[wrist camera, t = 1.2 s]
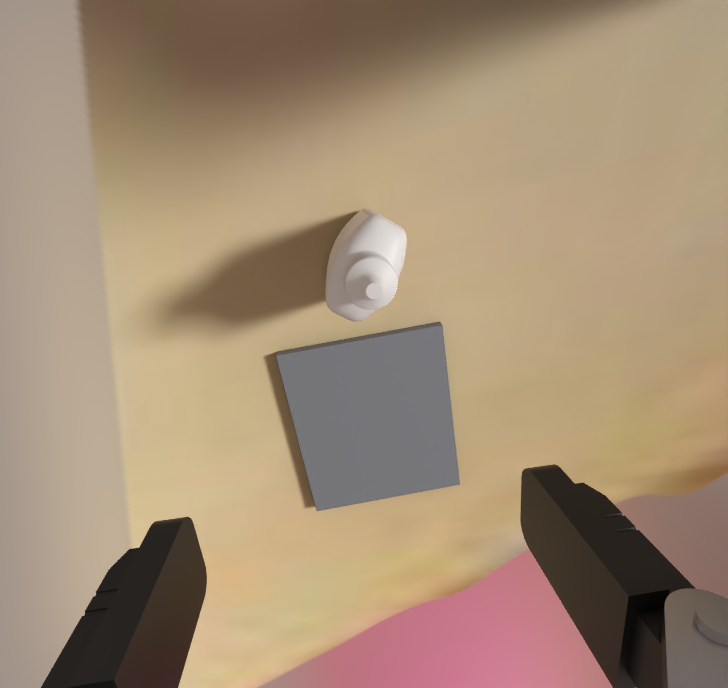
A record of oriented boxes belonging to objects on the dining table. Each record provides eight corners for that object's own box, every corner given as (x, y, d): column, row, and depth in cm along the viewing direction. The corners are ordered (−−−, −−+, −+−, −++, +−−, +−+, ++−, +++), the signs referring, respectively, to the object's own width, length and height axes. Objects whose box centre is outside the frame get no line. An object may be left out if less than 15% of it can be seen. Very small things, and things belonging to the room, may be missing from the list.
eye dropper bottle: (304, 248, 28) (286, 285, 17) (375, 199, 28) (404, 205, 16) (341, 300, 30) (347, 367, 19) (409, 255, 29) (457, 297, 18)
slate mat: (277, 351, 31) (275, 355, 30) (439, 322, 31) (442, 325, 30) (317, 504, 36) (316, 511, 35) (457, 478, 36) (459, 484, 35)
